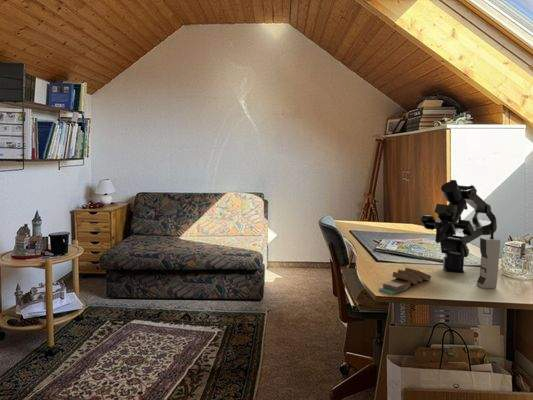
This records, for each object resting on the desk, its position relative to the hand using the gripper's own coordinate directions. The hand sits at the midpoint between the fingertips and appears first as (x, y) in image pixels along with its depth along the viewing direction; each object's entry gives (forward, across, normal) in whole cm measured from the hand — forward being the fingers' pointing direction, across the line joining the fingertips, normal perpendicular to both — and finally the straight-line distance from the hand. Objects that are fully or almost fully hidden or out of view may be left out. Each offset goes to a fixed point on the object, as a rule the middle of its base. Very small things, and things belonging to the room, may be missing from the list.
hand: (436, 242), depth 157 cm
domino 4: (+16, 0, 0) cm, 17 cm away
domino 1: (+23, +1, -7) cm, 24 cm away
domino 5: (+13, 0, +4) cm, 14 cm away
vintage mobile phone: (+7, +17, +11) cm, 22 cm away
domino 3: (+19, 0, -2) cm, 20 cm away
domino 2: (+25, +1, -7) cm, 26 cm away
